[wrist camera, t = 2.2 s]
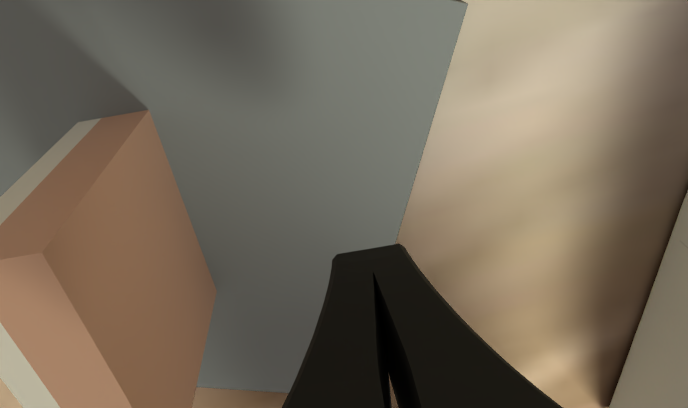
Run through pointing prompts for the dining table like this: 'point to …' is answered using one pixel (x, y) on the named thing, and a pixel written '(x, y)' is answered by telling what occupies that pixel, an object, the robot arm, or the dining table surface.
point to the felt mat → (245, 136)
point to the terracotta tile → (102, 275)
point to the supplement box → (661, 334)
